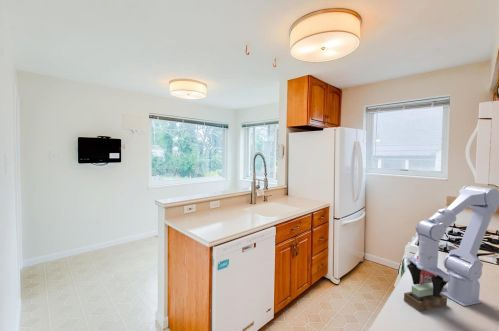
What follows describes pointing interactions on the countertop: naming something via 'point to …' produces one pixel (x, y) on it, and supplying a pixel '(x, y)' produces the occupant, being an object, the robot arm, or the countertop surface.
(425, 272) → the soda can
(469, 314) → the countertop surface
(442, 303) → the post base
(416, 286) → the green toy bench
